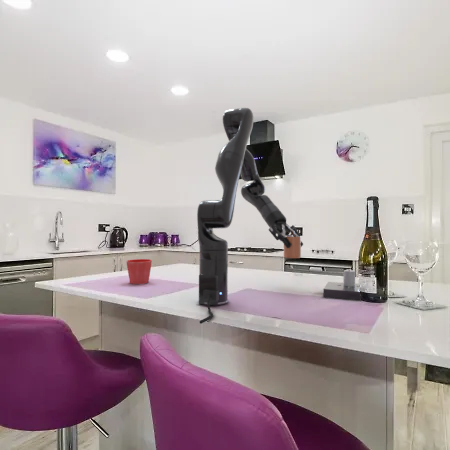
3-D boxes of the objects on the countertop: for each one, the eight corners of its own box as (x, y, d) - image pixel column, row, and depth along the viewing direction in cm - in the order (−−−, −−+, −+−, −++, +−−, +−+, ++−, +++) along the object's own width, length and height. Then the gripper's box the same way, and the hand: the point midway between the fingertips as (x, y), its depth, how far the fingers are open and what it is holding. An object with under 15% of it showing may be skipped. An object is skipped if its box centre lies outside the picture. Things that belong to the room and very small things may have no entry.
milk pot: (299, 258, 124) (299, 237, 124) (282, 257, 127) (282, 236, 127) (302, 257, 130) (302, 236, 130) (285, 256, 133) (286, 236, 133)
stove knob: (354, 287, 119) (355, 270, 119) (343, 286, 120) (343, 270, 120) (355, 285, 123) (355, 269, 123) (343, 284, 124) (343, 268, 124)
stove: (360, 300, 111) (360, 291, 111) (323, 297, 115) (323, 288, 115) (361, 291, 125) (361, 283, 125) (328, 289, 130) (328, 281, 130)
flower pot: (126, 285, 137) (126, 262, 137) (126, 281, 148) (126, 259, 148) (152, 284, 140) (152, 261, 140) (151, 280, 150) (151, 258, 150)
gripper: (265, 208, 130) (289, 240, 121) (289, 210, 139) (312, 239, 130) (255, 222, 134) (278, 253, 125) (279, 222, 143) (301, 252, 134)
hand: (295, 246), depth 127 cm, fingers closed on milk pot, 6 cm apart
